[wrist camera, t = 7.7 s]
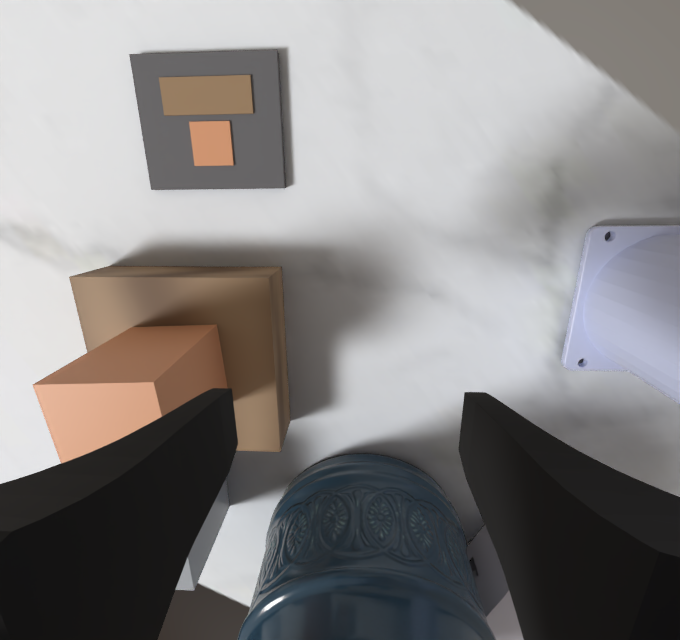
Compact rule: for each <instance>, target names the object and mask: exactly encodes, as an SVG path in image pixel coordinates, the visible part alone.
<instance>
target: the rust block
mask: <svg viewBox="0 0 680 640" xmlns="http://www.w3.org/2000/svg"><path fill="white" fill-rule="evenodd" d="M33 387H34V390H35V393H36V395H37V398H38V401H39V404H40V406H41V409H42V412H43V415H44V417H45V420H46V423H47V426H48V428H49V431H50V434H51V437H52V439H53V442H54V445H55V448H56V451H57V453H58V456H59V459H60V462H61V463H64V462H67V461H69V460H72V459H75V458H77V457H80V456H83V455H85V454H87V453H90V452H92V451H94V450H97V449H99V448H101V447H103V446H106V445H108V444H110V443H112V442H114V441H117V440H119V439H121V438H123V437H125V436H127V435H129V434H131V433H133V432H134V431H136V430H138V429H140V428H142V427H144V426H146V425H147V424H149V423H151V422H153V421H155V420H157V419H159V418H160V417H162V416H164V415H166V414H167V413H169V412H171V411H172V410H174V409H176V408H178V407H179V406H181V405H183V404H184V403H186V402H188V401H190V400H191V399H193V398H195V397H197V396H198V395H200V394H202V393H204V392H206V391H208V390H210V389H212V388H228V387H227V381H226V375H225V369H224V363H223V357H222V351H221V346H220V340H219V334H218V328H217V324H216V325H185V326H155V327H131V328H129V329H127V330H126V331H124V332H122V333H121V334H119V335H117V336H115V337H114V338H112V339H110V340H109V341H107V342H105V343H103V344H102V345H100V346H98V347H97V348H95V349H93V350H91V351H90V352H88V353H86V354H85V355H83V356H81V357H80V358H78V359H76V360H74V361H73V362H71V363H69V364H68V365H66V366H64V367H62V368H61V369H59V370H57V371H56V372H54V373H52V374H50V375H49V376H47V377H45V378H44V379H42V380H40V381H38V382H37V383H35V384H33Z"/></svg>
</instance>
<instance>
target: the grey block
mask: <svg viewBox="0 0 680 640" xmlns="http://www.w3.org/2000/svg"><path fill="white" fill-rule="evenodd" d="M229 506H230V504H229V496H228V488H227V481H226V479H225V481H224V483H223V485H222V487H221V489H220V491H219V494H218V496H217V498H216V500H215V502H214V504H213V506H212V508H211V510H210V512H209V514H208V516H207V518H206V520H205V522H204V524H203V526H202V528H201V530H200V532H199V534H198V536H197V538H196V540H195V542H194V544H193V546H192V549H191V551H190V553H189V555H188V558H187V560H186V563H185V566H184V568H183V571H182V573H181V576H180V579H179V581H178V584H177V586H176V589H175V590H194V589H195V587H196V585H197V582H198V580H199V577H200V575H201V573H202V570H203V568H204V566H205V563H206V561H207V559H208V556H209V554H210V551H211V549H212V547H213V544H214V542H215V540H216V537H217V535H218V532H219V530H220V528H221V525H222V523H223V521H224V518H225V516H226V514H227V511H228V509H229Z"/></svg>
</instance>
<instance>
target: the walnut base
mask: <svg viewBox="0 0 680 640" xmlns="http://www.w3.org/2000/svg"><path fill="white" fill-rule="evenodd" d="M69 278H70V282H71V286H72V290H73V295H74V299H75V303H76V307H77V311H78V315H79V320H80V324H81V328H82V332H83V336H84V340H85V344H86V349H87V353H88V352H90V351H91V350H93V349H95V348H97V347H98V346H100V345H102V344H103V343H105V342H107V341H109V340H110V339H112V338H114V337H115V336H117V335H119V334H121V333H122V332H124V331H126V330H127V329H129V328H131V327H155V326H185V325H216V324H217V328H218V334H219V340H220V346H221V351H222V357H223V363H224V369H225V375H226V381H227V387H228V388H232V395H233V403H234V412H235V420H236V429H237V438H238V446H237V449H236V451H267V452H281V449H282V446H283V442H284V439H285V436H286V433H287V430H288V427H289V424H290V406H289V389H288V371H287V353H286V336H285V318H284V300H283V283H282V267H200V266H108V267H104V268H100V269H97V270H93V271H89V272H86V273H82V274H78V275H75V276H71V277H69Z"/></svg>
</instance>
